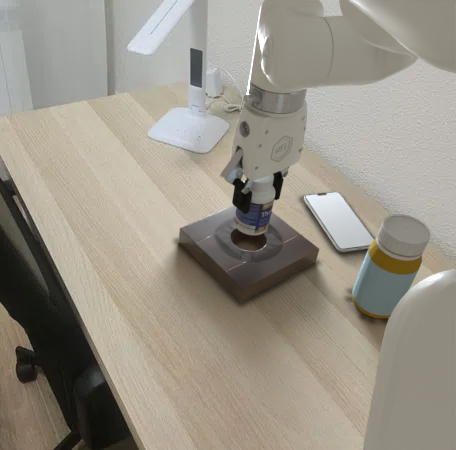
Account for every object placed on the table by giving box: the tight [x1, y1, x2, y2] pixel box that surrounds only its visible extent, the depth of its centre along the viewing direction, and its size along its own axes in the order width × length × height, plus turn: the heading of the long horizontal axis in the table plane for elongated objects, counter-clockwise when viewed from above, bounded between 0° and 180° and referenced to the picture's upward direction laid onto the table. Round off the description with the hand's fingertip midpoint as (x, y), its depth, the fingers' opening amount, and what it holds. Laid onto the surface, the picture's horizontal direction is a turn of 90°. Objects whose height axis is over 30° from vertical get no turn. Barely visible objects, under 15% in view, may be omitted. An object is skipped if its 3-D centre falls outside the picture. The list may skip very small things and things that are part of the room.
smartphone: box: [303, 191, 376, 253], centre depth 97 cm, size 7×1×15 cm
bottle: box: [351, 213, 431, 319], centre depth 78 cm, size 7×7×15 cm
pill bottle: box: [235, 174, 275, 235], centre depth 84 cm, size 5×5×10 cm
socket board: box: [178, 204, 320, 303], centre depth 90 cm, size 16×16×3 cm
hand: (255, 200), depth 84 cm, fingers closed on pill bottle, 5 cm apart
